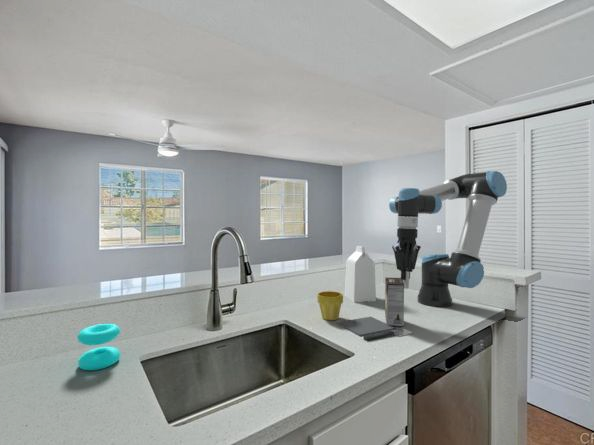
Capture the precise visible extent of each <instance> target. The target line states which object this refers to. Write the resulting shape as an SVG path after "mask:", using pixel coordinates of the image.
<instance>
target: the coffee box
mask: <svg viewBox="0 0 594 445" xmlns="http://www.w3.org/2000/svg"><path fill="white" fill-rule="evenodd" d="M384 278H385V281H384V282H385V283H384V285H385V287H384V289H385V290H384V292H385V293H384V294H385V296H384V297H385V298H384V302H385V304H384V306H385V307H384V310H385V311H384V314H385V323H386V324H387V325H391V326H393V327H395V326H396V327H404V325H405V324H404V323H405V321H404V320H405V318H404V317H405V314H404V312H405V311H404V310H405V288H404V283H403V280H402V278H401V277H384Z"/></svg>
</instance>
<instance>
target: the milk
mask: <svg viewBox="0 0 594 445" xmlns="http://www.w3.org/2000/svg"><path fill="white" fill-rule="evenodd" d="M375 265H376V264H375V262H374V260H373V259H372V258H371V257H370V256H369V254H368V253H366V250H365V247H364V246H361V245H356V247H355V251H354V252H353V253H352V254H351V255H349V257H348V258H347V259H346V262H345V280H344V294H343V296H344V295H345V296H346V297H345V296H344V297H345V298H347V297H348V298H349V299H348V298H347V299H348V300H350V301H351V300H352V301H351V302H353V303H365V302H364V301H368V302H377V292H376V290H377V289H376V268H375V267H376V266H375Z"/></svg>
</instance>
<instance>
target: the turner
mask: <svg viewBox="0 0 594 445" xmlns="http://www.w3.org/2000/svg"><path fill="white" fill-rule="evenodd" d="M413 334H414V332H412V331H410V330H408V329H405V328H402V327H401V328H395V329H393V330H388V331H383V332H378V333H374V334H369V335H364V336H363V341H365V342H368V341H369V342H370V341H373V340H378V339H382V338H386V337H387V338H388V337H392V336H396V337H397V338H399V337H403V336H407V335H408V336H409V335H413Z"/></svg>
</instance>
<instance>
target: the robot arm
mask: <svg viewBox="0 0 594 445" xmlns="http://www.w3.org/2000/svg"><path fill="white" fill-rule="evenodd" d="M507 184H508V183H507V180H506V177H505V176H504V175H503V173H501V171H498V170H493V171H491V170H489V171H483V172H476V173H475V172H474V173H465V174H462V175H459V176H456V177H454V178H450V179H447V180H445V181H444V182H442V183H441V184H438V185H436V186H435V185H434V186H431V187H429V188H425V189H422V190H420V189H419V188H416V187H415V188H414V187H405V188H404V187H403V188H400V189H399V191H398V196H395V197H392V198H391V199H390V200H389V203H388V207H389V209H390V211H391V213H393V214H397V227H398V228H397V229H396V230H397V232H396V237H397V238H398V239H397V242H396V244H395V245H392V246H391V247H392V250H393V253H394V259H395V265H396V270H398V271H400V278H402V280H403V283H404V289H406V290H407V289H409V286H410V285H409V284H410V279H411V273H412V272H413V271H414V270H415V268H416V264H417V260H418V256H419V252H420V250H421V245H419V244H417V240H416V239H417V238H418V232H419V231H418V229H417V228H418V226H419V224H418V223H419V214H420V215H421V214H423V215H425V214H426V215H428V214H429V215H434V214H435V215H436V214H438V213H439V212H440V211H441V209H442V208H443V202H442V201H446V200H449V201H452V200H457V199H468V200H469V206H468V210H467V213H466V217H465V220H464V223H463V226H462V229H461V234H460V236H459V241H458V244H457V247H456V250H454V251H452V252H451V255H450V256H449V254H448V253H439V254H438V253H432V254H425V255H423V256H422V259H421V286H420V289H419V291H418V294H417V302H418V303H419V304H423V305H427V306H431V307H440V308H441V307H443V308H445V307H450V306H452V305H453V298H452V296H451V292H450V290H449V285H452V286H457V287H459V288H467V289H473V288H476V287H477V286H478V285H480V284H481V283H482V281H483V279H484V276H485V270H484V268H485V267H484V264H482V263H481V262H482V259H481V258H480V257H479V254H480V253H479V252H480V249H481V246H482V241H483V239H484V236H485V232H486V228H487V224H488V221H489V216H490V213H491V210H492V206H494V205H496V204H497V202H498V199H499V198H501V197H504V196H505V195H506V193H507V189H508V186H507Z"/></svg>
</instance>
